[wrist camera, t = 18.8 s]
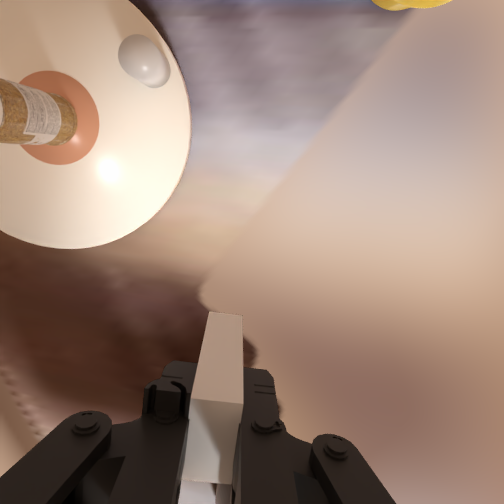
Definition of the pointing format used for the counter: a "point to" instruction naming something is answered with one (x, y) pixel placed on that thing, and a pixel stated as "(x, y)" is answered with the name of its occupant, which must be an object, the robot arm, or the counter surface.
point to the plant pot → (408, 4)
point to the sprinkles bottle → (34, 116)
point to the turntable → (92, 122)
